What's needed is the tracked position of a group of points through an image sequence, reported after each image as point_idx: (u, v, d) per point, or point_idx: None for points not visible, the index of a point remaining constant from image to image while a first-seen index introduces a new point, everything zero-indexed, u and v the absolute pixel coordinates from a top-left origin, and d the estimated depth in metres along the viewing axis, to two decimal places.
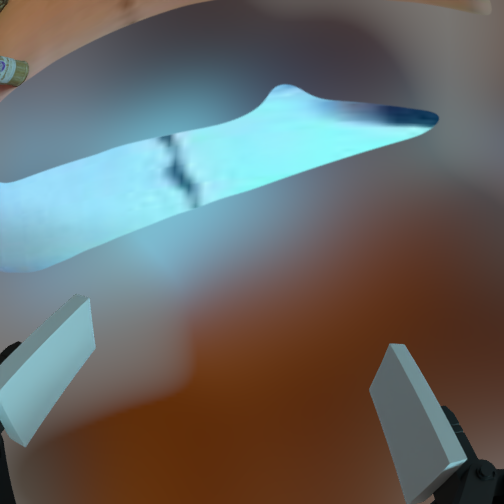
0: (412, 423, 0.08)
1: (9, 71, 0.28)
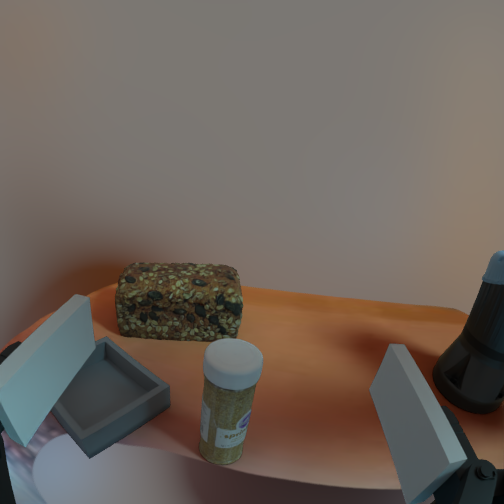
0: (412, 423, 0.08)
1: (239, 438, 0.24)
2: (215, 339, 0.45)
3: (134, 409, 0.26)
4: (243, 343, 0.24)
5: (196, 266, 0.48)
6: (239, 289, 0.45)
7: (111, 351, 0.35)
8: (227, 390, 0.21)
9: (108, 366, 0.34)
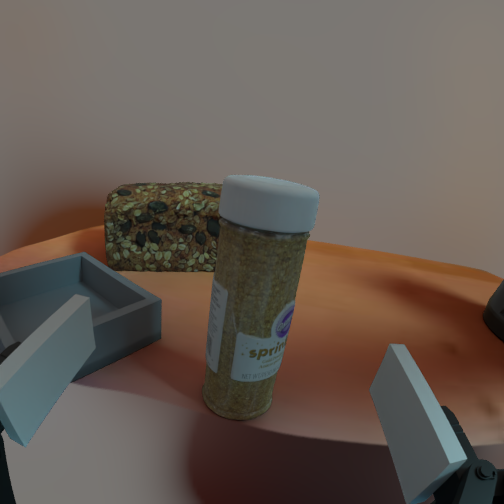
0: (412, 423, 0.08)
1: (273, 361, 0.16)
2: None
3: (103, 326, 0.18)
4: (283, 180, 0.16)
5: (201, 183, 0.39)
6: None
7: (88, 268, 0.26)
8: (262, 235, 0.13)
9: (82, 290, 0.26)
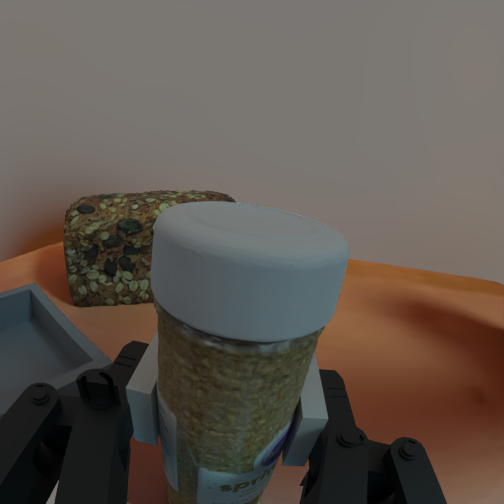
0: None
1: (258, 486, 0.08)
2: None
3: None
4: (277, 210, 0.09)
5: (177, 192, 0.32)
6: None
7: (37, 305, 0.19)
8: (228, 346, 0.06)
9: (32, 331, 0.19)
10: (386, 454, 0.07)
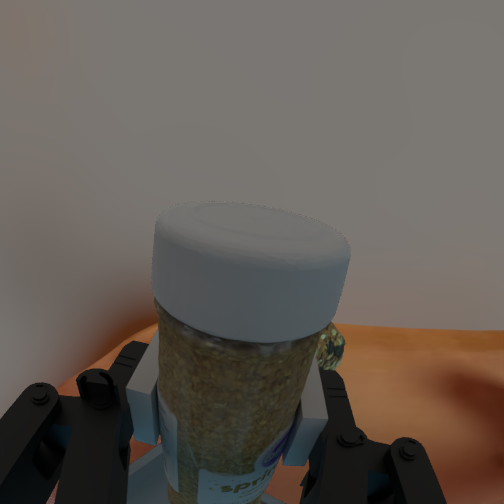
0: None
1: (259, 487, 0.08)
2: None
3: None
4: None
5: None
6: None
7: None
8: (229, 347, 0.06)
9: None
10: (386, 454, 0.07)
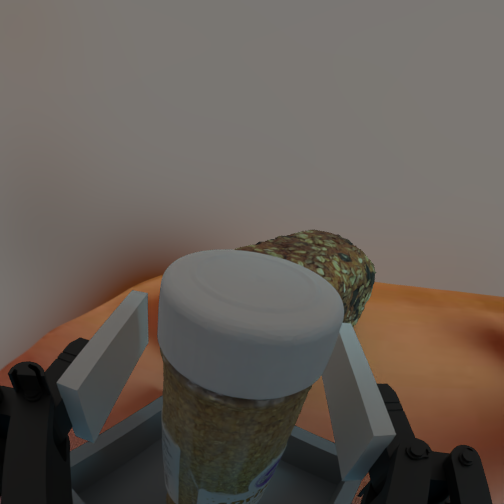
0: (347, 397, 0.10)
1: (252, 502, 0.09)
2: None
3: None
4: (278, 261, 0.09)
5: (301, 238, 0.31)
6: None
7: None
8: (230, 401, 0.06)
9: None
10: (447, 459, 0.06)
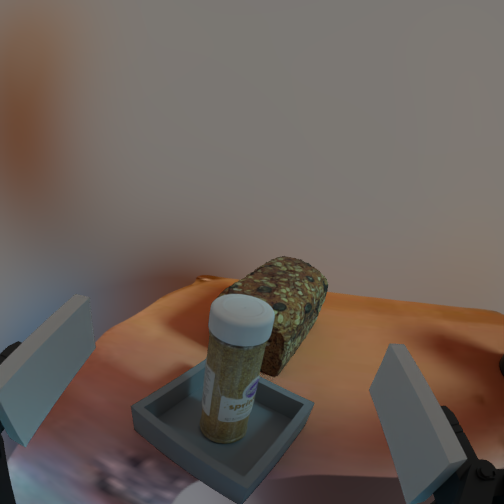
0: (412, 423, 0.08)
1: (245, 410, 0.23)
2: (312, 325, 0.47)
3: (290, 437, 0.23)
4: (252, 298, 0.23)
5: (278, 266, 0.44)
6: None
7: None
8: (235, 347, 0.20)
9: None
10: None
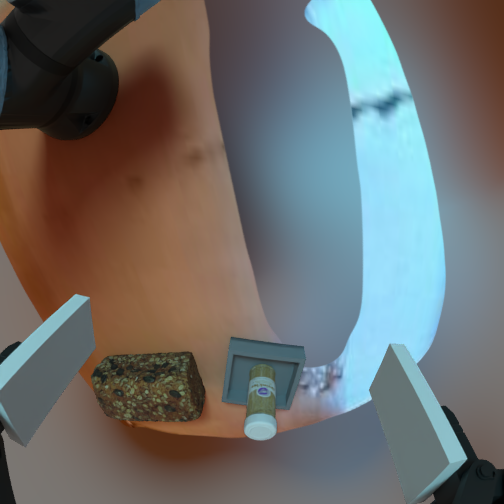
0: (412, 423, 0.08)
1: (267, 382, 0.45)
2: (119, 355, 0.51)
3: (262, 353, 0.46)
4: (248, 432, 0.38)
5: (130, 414, 0.44)
6: None
7: None
8: (275, 419, 0.39)
9: (234, 383, 0.51)
10: None
